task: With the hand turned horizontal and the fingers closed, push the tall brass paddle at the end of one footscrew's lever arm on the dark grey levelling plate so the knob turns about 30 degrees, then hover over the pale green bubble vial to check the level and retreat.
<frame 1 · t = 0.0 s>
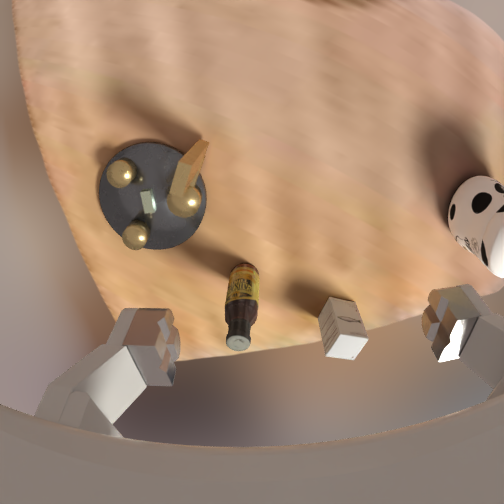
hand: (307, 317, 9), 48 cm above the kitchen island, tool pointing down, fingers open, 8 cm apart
levelling plate: (151, 197, 58), on the kitchen island
lever knob: (183, 191, 47), point 10 cm above the kitchen island, hinge at 0.0°
supplement box: (336, 309, 72), on the kitchen island
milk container: (470, 206, 57), on the kitchen island
sauce bottle: (244, 273, 67), on the kitchen island
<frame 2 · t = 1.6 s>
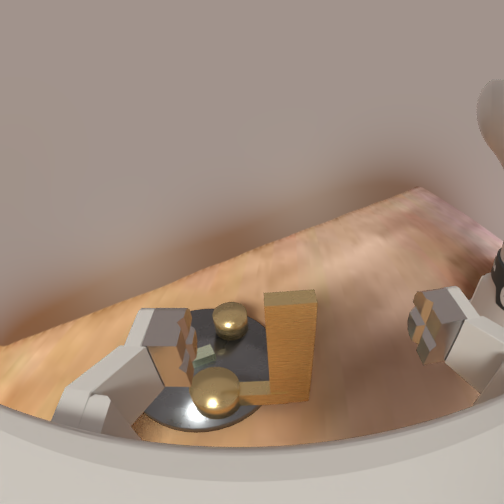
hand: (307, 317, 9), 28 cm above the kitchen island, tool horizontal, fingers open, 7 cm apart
levelling plate: (201, 365, 42), on the kitchen island
lever knob: (243, 359, 31), point 10 cm above the kitchen island, hinge at 0.0°
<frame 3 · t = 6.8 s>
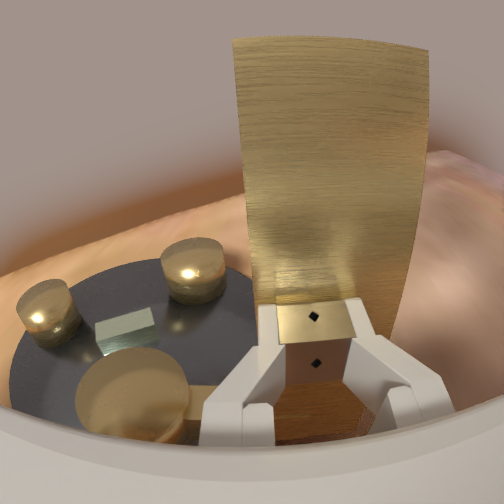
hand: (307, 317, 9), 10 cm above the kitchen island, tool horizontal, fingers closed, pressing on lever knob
levelling plate: (134, 349, 21), on the kitchen island
lever knob: (182, 315, 10), point 10 cm above the kitchen island, hinge at 0.0°, touching gripper
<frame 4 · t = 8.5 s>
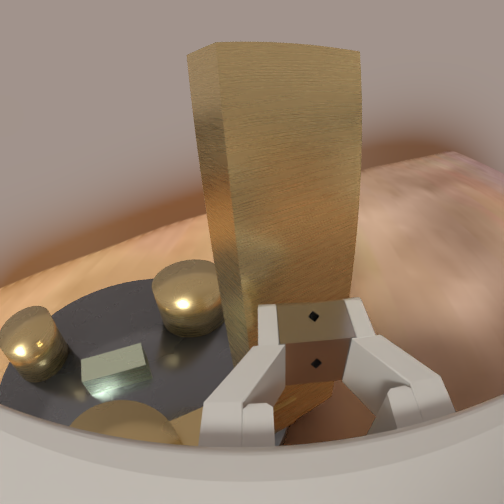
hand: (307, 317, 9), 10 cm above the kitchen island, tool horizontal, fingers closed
levelling plate: (125, 386, 18), on the kitchen island
lever knob: (163, 347, 9), point 10 cm above the kitchen island, hinge at 31.5°
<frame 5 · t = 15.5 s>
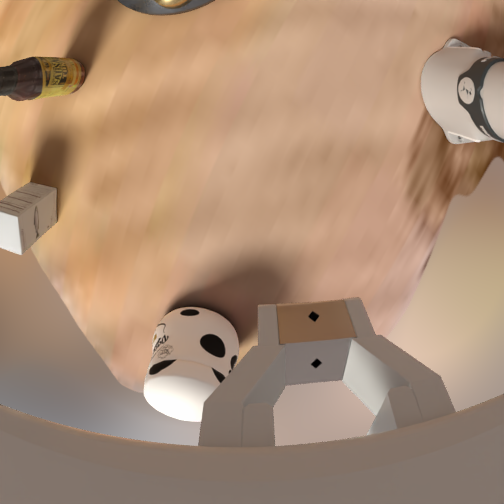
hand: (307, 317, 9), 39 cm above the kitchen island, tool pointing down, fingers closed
supplement box: (44, 201, 48), on the kitchen island
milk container: (198, 329, 63), on the kitchen island
sauce bottle: (71, 75, 37), on the kitchen island
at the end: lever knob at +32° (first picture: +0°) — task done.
